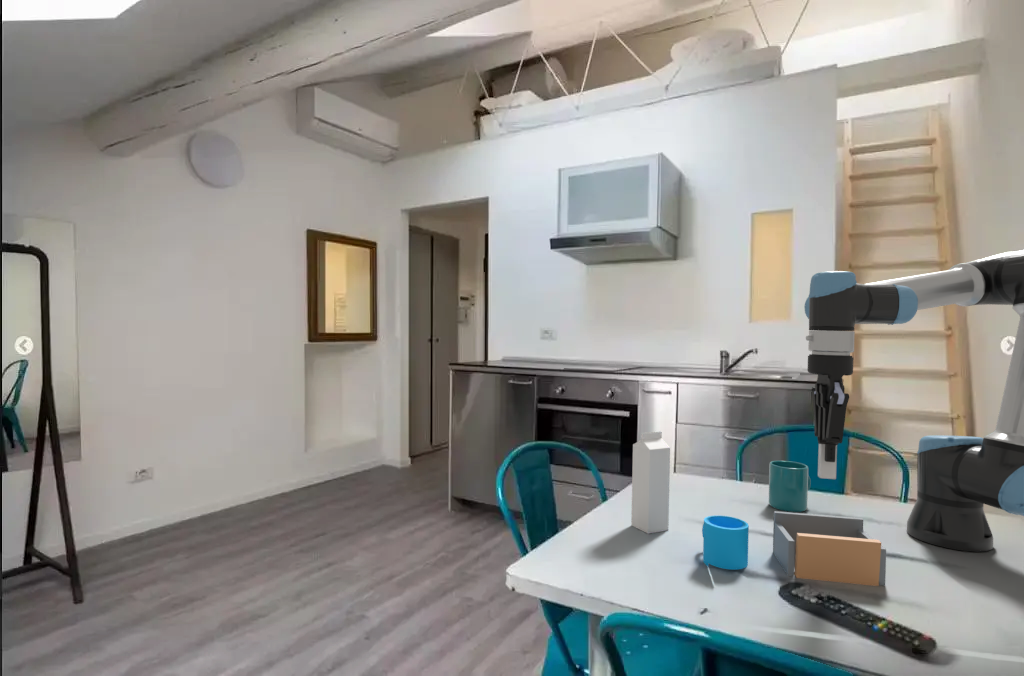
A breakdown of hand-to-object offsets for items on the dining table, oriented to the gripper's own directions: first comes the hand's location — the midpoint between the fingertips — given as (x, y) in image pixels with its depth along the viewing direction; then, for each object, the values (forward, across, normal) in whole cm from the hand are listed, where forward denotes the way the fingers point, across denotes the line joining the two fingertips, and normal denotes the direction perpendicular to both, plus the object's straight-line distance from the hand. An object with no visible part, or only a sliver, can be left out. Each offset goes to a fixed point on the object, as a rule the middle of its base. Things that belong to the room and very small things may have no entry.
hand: (826, 477), depth 105 cm
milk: (+18, -16, -32) cm, 40 cm away
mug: (+18, -1, -19) cm, 26 cm away
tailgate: (+17, +5, 0) cm, 18 cm away
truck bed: (+18, -1, 0) cm, 18 cm away
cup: (+18, -42, +5) cm, 46 cm away
